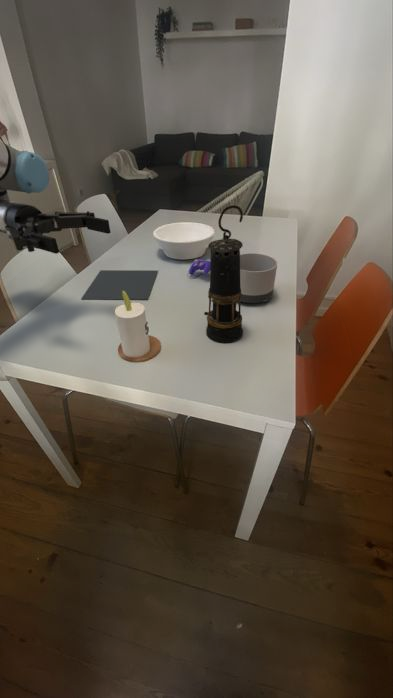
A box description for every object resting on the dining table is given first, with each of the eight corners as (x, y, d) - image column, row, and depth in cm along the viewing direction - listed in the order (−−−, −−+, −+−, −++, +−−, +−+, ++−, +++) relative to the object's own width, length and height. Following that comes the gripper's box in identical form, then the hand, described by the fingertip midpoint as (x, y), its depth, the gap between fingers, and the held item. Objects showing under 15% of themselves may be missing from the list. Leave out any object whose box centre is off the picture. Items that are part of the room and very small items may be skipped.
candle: (146, 358, 71) (137, 299, 62) (118, 356, 72) (106, 297, 62) (154, 342, 76) (146, 284, 66) (127, 339, 77) (117, 283, 67)
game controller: (177, 266, 102) (197, 251, 106) (187, 288, 106) (206, 273, 111) (199, 266, 95) (219, 249, 99) (208, 289, 99) (227, 272, 104)
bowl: (164, 241, 131) (163, 220, 126) (218, 244, 128) (219, 223, 122) (147, 263, 114) (144, 240, 109) (209, 267, 110) (209, 243, 105)
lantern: (202, 325, 82) (200, 200, 63) (235, 320, 83) (244, 196, 65) (211, 346, 75) (212, 212, 56) (248, 340, 76) (261, 208, 58)
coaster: (113, 361, 71) (113, 360, 71) (123, 335, 79) (123, 334, 79) (157, 362, 70) (157, 361, 70) (163, 336, 78) (163, 334, 78)
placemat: (81, 299, 94) (80, 298, 94) (100, 271, 110) (100, 270, 109) (148, 300, 93) (147, 299, 93) (158, 271, 109) (157, 270, 108)
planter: (274, 288, 97) (279, 255, 90) (269, 309, 87) (274, 274, 81) (233, 283, 100) (235, 251, 94) (223, 303, 90) (225, 268, 84)
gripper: (69, 223, 84) (128, 236, 75) (-26, 253, 68) (35, 275, 58) (61, 192, 79) (123, 202, 70) (-43, 217, 63) (21, 234, 54)
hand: (84, 235), depth 64 cm, fingers open, 13 cm apart
